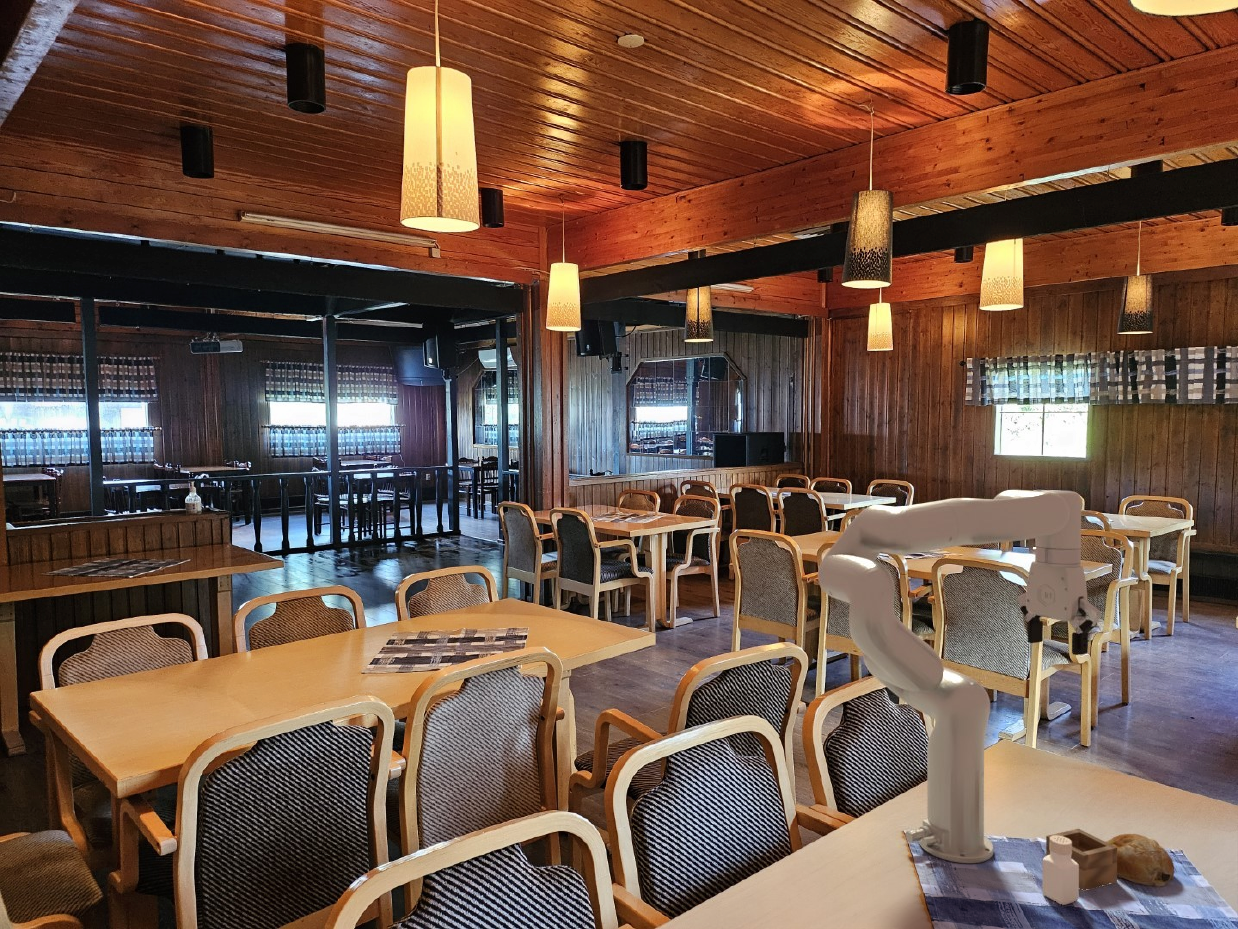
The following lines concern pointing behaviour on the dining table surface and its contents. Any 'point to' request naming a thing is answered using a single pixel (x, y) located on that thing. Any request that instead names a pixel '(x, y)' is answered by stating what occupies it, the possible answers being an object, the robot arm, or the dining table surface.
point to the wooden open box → (1091, 858)
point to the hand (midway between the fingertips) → (1056, 648)
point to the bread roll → (1142, 860)
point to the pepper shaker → (1060, 872)
